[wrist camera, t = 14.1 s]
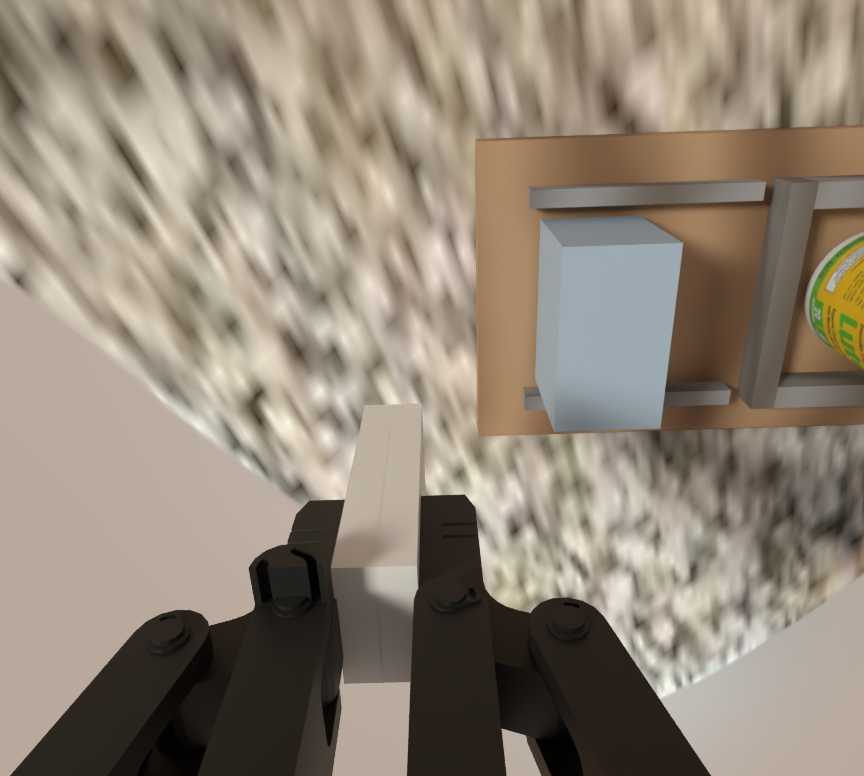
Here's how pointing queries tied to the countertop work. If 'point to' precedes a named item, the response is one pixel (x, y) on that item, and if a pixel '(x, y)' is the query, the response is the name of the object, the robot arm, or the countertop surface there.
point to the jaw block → (605, 321)
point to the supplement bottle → (839, 299)
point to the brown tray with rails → (699, 271)
